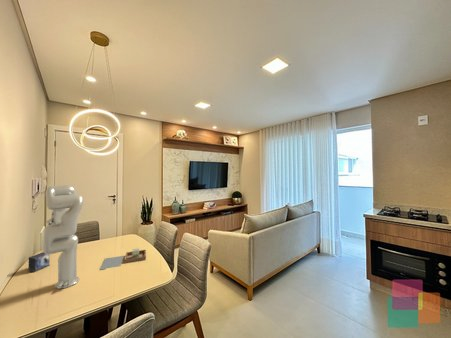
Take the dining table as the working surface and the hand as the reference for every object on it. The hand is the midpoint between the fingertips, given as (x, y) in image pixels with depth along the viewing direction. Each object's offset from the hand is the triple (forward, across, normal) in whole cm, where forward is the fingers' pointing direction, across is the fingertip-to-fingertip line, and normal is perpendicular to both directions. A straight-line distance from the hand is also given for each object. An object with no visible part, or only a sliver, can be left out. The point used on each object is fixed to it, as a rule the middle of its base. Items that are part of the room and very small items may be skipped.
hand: (59, 229), depth 154 cm
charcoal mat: (+29, +15, -36) cm, 49 cm away
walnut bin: (+29, +27, -48) cm, 63 cm away
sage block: (+28, +27, -48) cm, 62 cm away
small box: (+29, -7, +11) cm, 32 cm away
